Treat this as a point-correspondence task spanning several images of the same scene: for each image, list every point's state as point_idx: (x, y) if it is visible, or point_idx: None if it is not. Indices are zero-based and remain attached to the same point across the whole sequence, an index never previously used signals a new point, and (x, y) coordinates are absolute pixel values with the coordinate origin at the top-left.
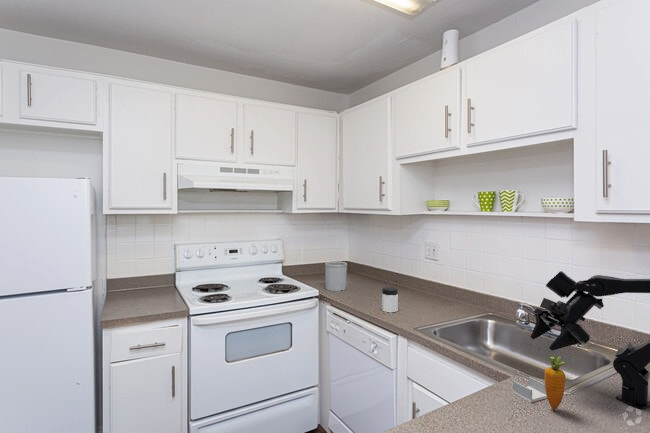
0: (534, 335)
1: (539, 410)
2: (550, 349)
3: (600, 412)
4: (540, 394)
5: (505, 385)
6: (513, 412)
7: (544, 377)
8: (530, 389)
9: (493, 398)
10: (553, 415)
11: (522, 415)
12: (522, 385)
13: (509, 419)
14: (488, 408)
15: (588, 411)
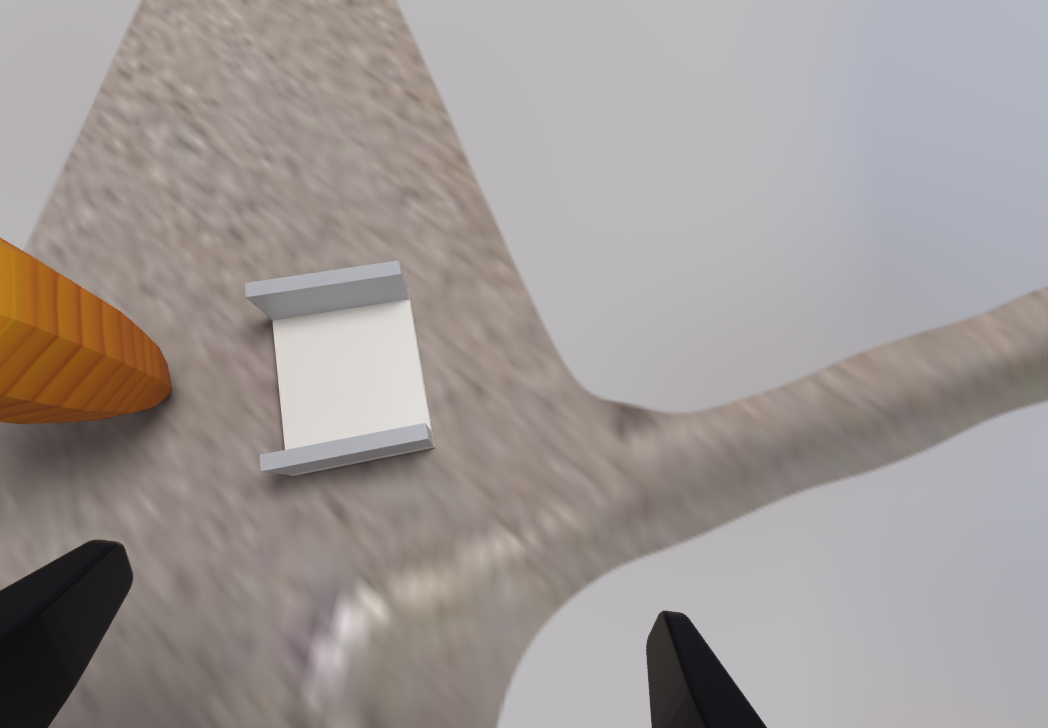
0: (674, 698)
1: (189, 302)
2: (121, 559)
3: None
4: (310, 423)
5: (501, 314)
6: (221, 155)
7: (76, 284)
8: (256, 290)
9: (376, 150)
10: None
11: (180, 178)
12: (324, 280)
13: (173, 95)
14: (293, 68)
15: None
